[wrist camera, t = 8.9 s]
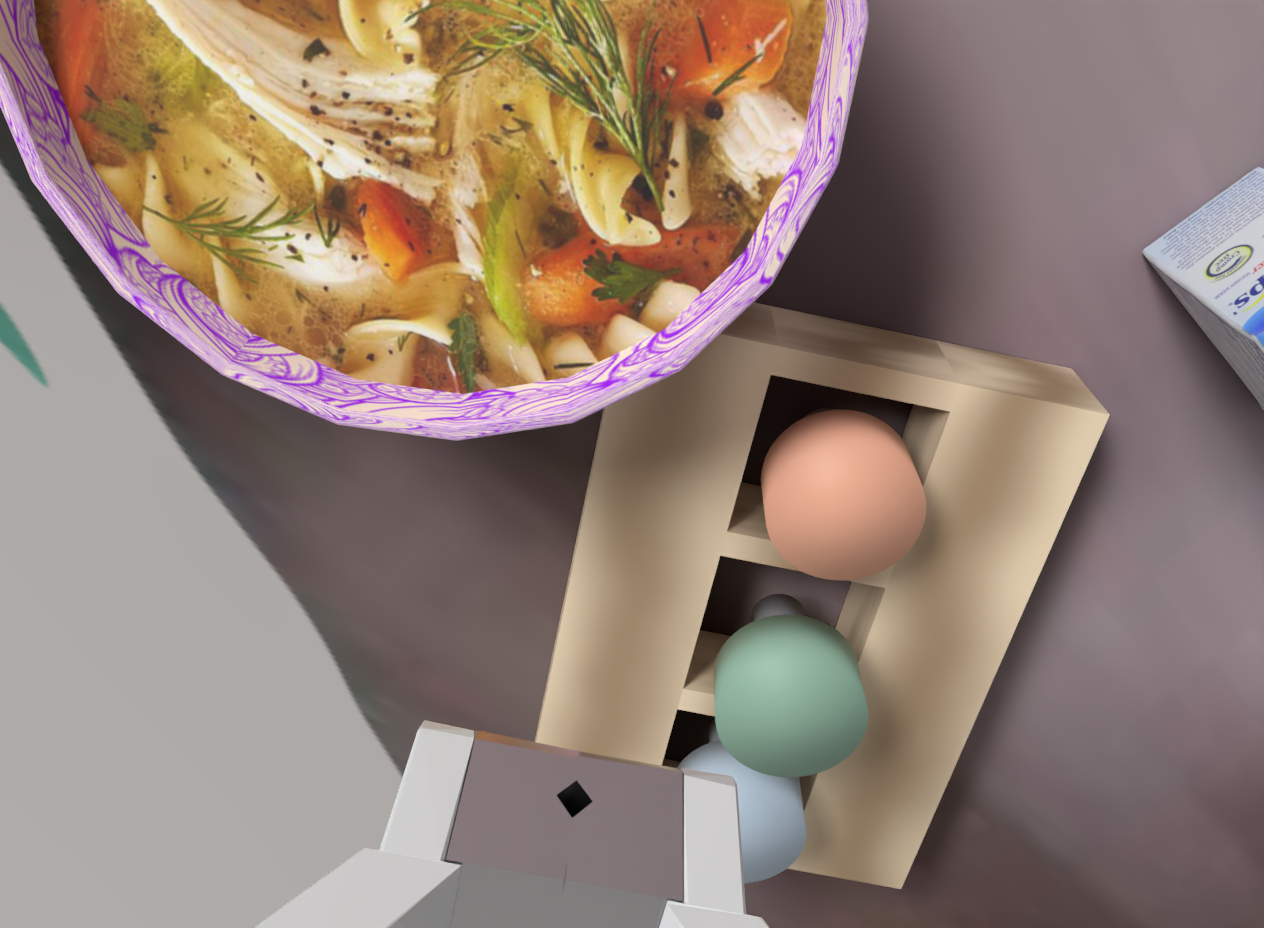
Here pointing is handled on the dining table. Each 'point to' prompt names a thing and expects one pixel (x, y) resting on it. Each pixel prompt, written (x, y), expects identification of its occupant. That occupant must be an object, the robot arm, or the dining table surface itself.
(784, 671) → the button green
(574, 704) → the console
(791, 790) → the button slate
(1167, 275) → the medicine box
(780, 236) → the bowl of food
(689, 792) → the robot arm
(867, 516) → the button terracotta
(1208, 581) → the dining table surface
